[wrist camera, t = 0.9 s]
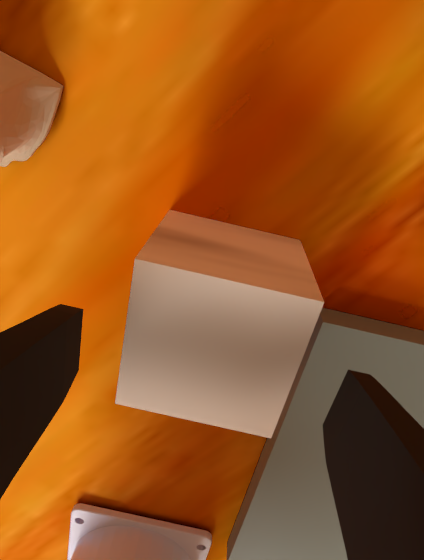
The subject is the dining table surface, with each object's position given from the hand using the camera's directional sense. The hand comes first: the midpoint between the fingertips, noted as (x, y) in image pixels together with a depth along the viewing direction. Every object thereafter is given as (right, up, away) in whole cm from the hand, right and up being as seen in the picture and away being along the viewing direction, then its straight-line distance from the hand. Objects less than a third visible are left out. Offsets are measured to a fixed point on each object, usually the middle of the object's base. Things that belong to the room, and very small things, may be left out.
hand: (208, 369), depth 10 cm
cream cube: (0, +2, +5) cm, 6 cm away
